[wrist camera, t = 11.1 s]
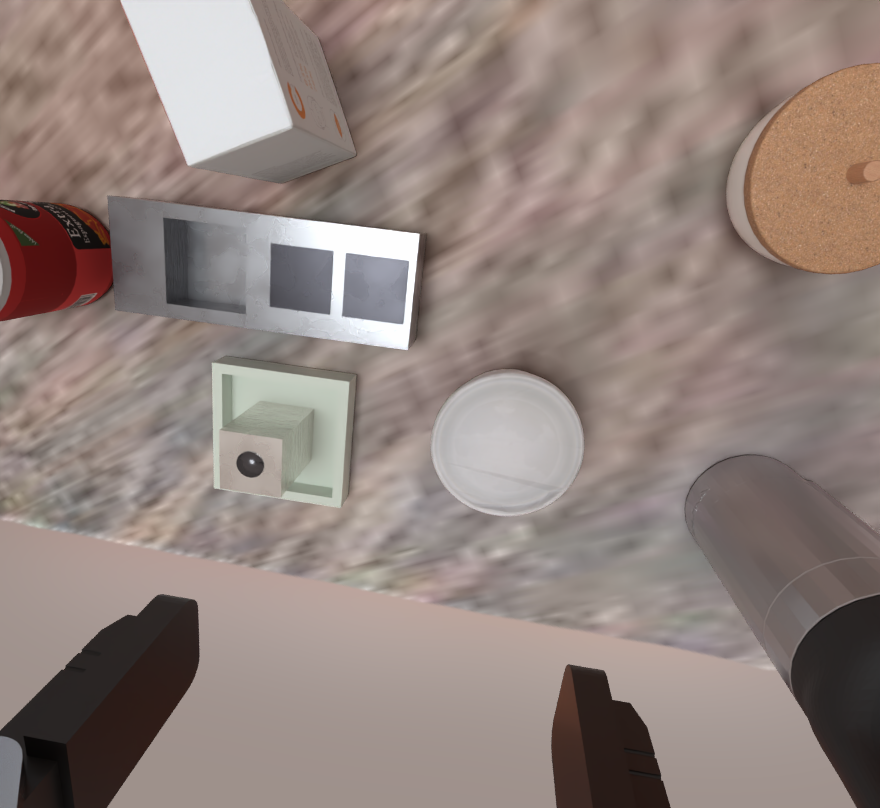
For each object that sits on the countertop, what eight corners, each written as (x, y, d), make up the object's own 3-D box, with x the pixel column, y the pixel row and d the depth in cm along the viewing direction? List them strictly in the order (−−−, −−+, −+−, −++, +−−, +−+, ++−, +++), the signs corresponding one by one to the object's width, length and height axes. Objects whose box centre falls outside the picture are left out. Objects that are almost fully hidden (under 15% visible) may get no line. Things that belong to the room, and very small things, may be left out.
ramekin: (463, 502, 47) (459, 534, 42) (417, 382, 44) (407, 402, 39) (592, 465, 45) (604, 495, 40) (552, 338, 42) (559, 352, 37)
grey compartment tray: (426, 233, 41) (419, 234, 37) (415, 339, 43) (407, 350, 39) (142, 198, 42) (106, 195, 38) (148, 303, 44) (114, 310, 41)
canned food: (130, 228, 43) (12, 228, 32) (108, 321, 45) (-8, 348, 35) (38, 186, 43) (-111, 172, 32) (21, 281, 45) (-122, 297, 35)
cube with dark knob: (314, 408, 45) (281, 439, 38) (311, 459, 47) (280, 498, 40) (260, 400, 45) (218, 430, 39) (259, 451, 47) (219, 488, 40)
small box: (237, 69, 39) (114, -6, 26) (319, 35, 37) (230, -61, 25) (280, 187, 41) (185, 169, 28) (359, 158, 40) (296, 125, 27)
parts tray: (356, 374, 44) (349, 381, 42) (348, 495, 48) (341, 508, 46) (225, 355, 45) (212, 362, 43) (226, 476, 49) (213, 488, 46)
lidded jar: (750, 72, 36) (833, 20, 27) (905, 128, 36) (1040, 94, 27) (674, 236, 39) (726, 238, 30) (816, 287, 39) (910, 304, 30)
